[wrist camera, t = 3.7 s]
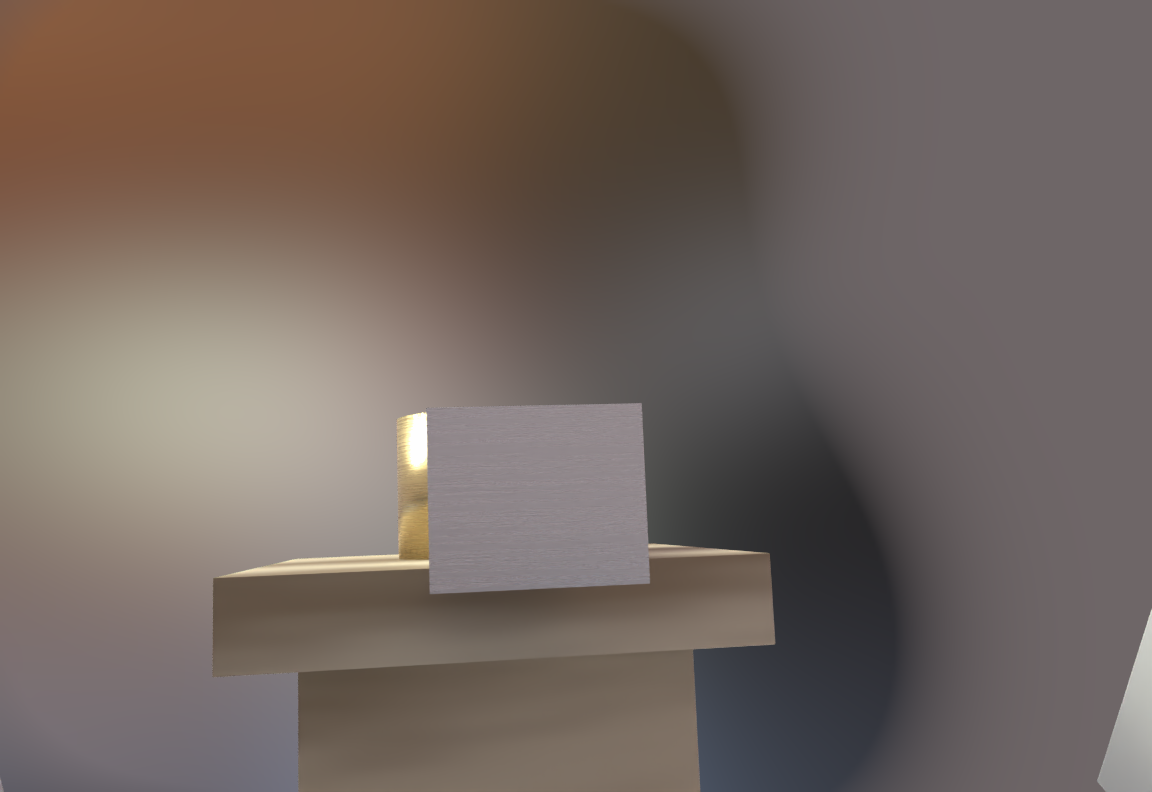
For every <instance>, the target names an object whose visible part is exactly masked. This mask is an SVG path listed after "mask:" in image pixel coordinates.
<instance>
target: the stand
mask: <svg viewBox="0 0 1152 792" xmlns="http://www.w3.org/2000/svg"><path fill="white" fill-rule="evenodd" d="M648 551H649V572H650V584H630V585H609V586H589V587H568V588H547V589H526V590H506V591H485V592H464V593H444V594H430V582H429V560H403V559H399V554H398V555H377V556H376V555H375V556H353V557H327V558H304V559H293V560H289V561H285V562H281V563H276V564H272V565H267V566H263V567H259V568H255V569H250V570H246V571H242V572H237V573H233V574H229V575H225V576H220V577H216V578H214V579H213V677H225V676H242V675H259V674H276V673H293V672H298V721H299V722H298V742H299V743H298V750H299V751H298V755H299V757H298V764H299V765H298V767H299V768H298V774H299V775H298V779H299V780H298V783H299V784H298V785H299V786H298V787H299V792H700V779H699V759H698V740H697V722H696V703H695V682H694V664H693V649H704V648H721V647H737V646H753V645H754V646H755V645H772V644H775V633H774V618H773V601H772V587H771V569H770V554H769V553H759V552H747V551H735V550H723V549H710V548H699V547H687V546H675V545H663V544H648Z"/></svg>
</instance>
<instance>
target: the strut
mask: <svg viewBox="0 0 1152 792" xmlns="http://www.w3.org/2000/svg"><path fill="white" fill-rule="evenodd" d="M397 459H398V460H397V461H398V463H397V464H398V531H399V559H403V560H429V582H430V594H444V593H464V592H485V591H506V590H526V589H547V588H568V587H589V586H609V585H630V584H650V572H649V551H648V529H647V509H646V487H645V467H644V445H643V424H642V404H641V403H637V404H636V403H635V404H590V405H589V404H588V405H542V406H495V407H494V406H493V407H449V408H447V407H446V408H426V413H420V414H413V415H409V416H404V417H401V418H399V419H397Z"/></svg>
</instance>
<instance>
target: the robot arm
mask: <svg viewBox="0 0 1152 792" xmlns="http://www.w3.org/2000/svg"><path fill="white" fill-rule="evenodd" d="M1097 781H1098V783H1099V784H1100V785H1101V786H1102V788H1103V789H1104V790H1105V791H1106V792H1152V610H1151V613H1150V616H1149V619H1148V623H1147V626H1146V629H1145V632H1144V635H1143V638H1142V641H1141V644H1140V648H1139V651H1138V654H1137V657H1136V660H1135V664H1134V667H1133V670H1132V673H1131V676H1130V679H1129V682H1128V686H1127V689H1126V692H1125V695H1124V698H1123V702H1122V705H1121V708H1120V711H1119V714H1118V717H1117V721H1116V723H1115V727H1114V730H1113V733H1112V736H1111V739H1110V742H1109V746H1108V749H1107V752H1106V755H1105V759H1104V761H1103V765H1102V768H1101V771H1100V774H1099V777H1098V780H1097ZM0 792H4V791H3V787H2V783H1V779H0Z"/></svg>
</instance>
